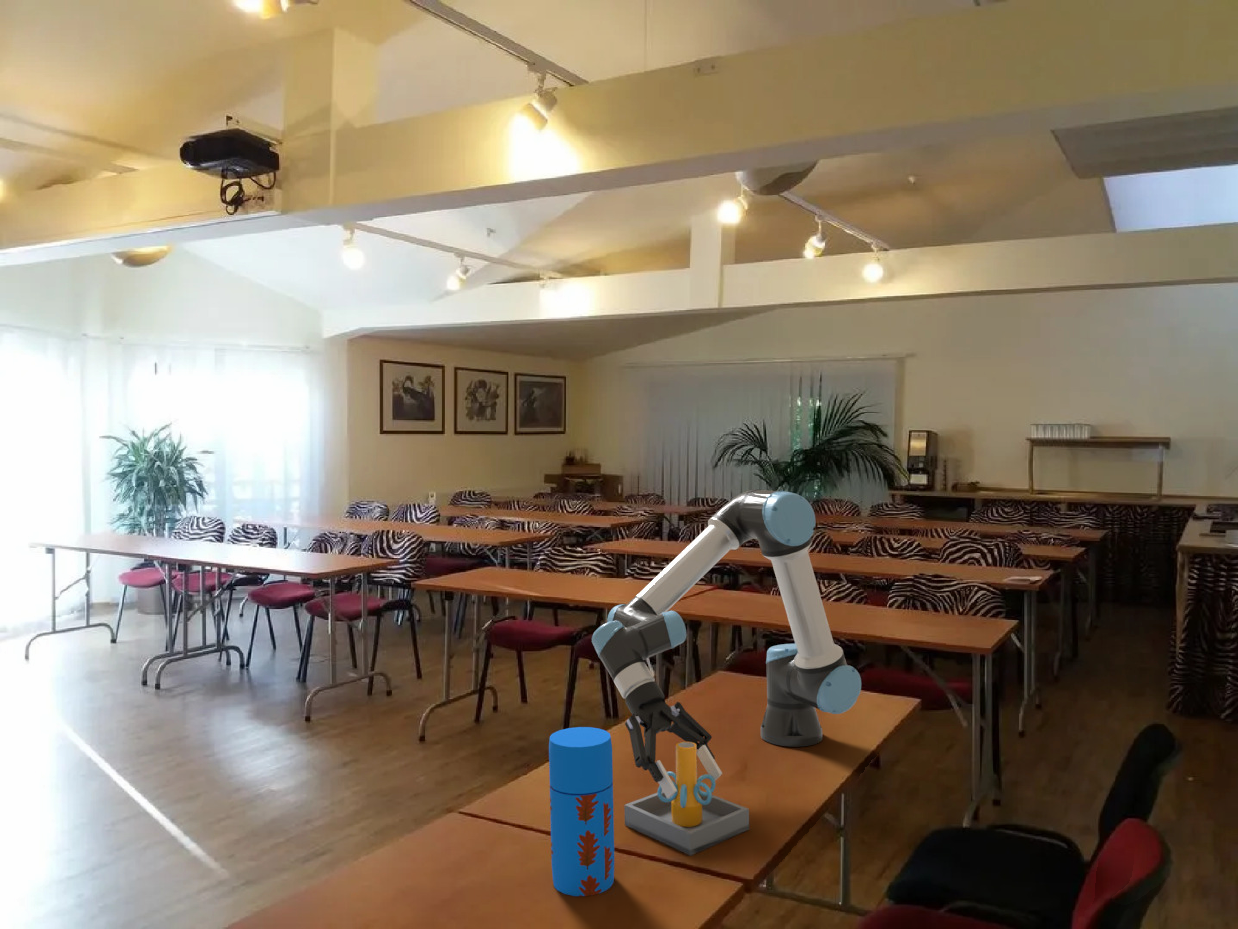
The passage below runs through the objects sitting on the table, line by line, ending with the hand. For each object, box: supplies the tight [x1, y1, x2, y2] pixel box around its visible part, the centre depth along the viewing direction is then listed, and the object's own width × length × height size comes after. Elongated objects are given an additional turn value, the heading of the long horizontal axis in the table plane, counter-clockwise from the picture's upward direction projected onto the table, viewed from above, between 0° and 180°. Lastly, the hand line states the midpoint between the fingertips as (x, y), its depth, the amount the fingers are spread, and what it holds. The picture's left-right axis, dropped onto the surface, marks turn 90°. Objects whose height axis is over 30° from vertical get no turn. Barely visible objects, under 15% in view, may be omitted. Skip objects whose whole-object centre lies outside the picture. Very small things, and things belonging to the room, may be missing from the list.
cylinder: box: [657, 741, 716, 827], centre depth 178 cm, size 12×10×15 cm
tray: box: [623, 790, 750, 856], centre depth 178 cm, size 16×18×4 cm
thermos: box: [548, 726, 615, 897], centre depth 157 cm, size 11×11×25 cm
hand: (695, 786), depth 176 cm, fingers open, 12 cm apart
